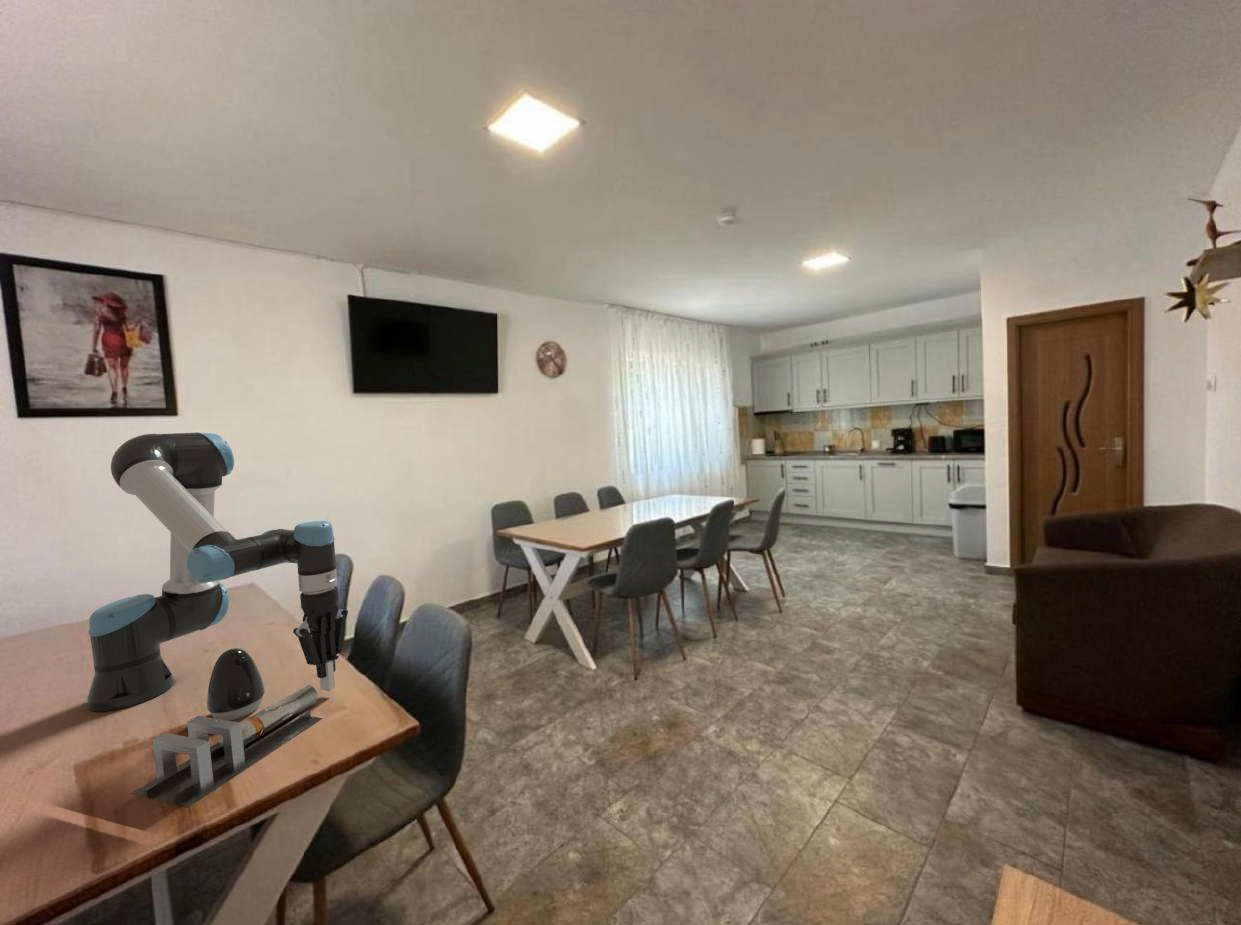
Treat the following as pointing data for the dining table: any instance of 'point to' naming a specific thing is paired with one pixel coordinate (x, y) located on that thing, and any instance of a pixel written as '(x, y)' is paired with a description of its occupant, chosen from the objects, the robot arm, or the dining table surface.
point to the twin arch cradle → (211, 757)
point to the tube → (276, 714)
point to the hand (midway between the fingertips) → (327, 688)
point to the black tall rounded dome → (234, 686)
